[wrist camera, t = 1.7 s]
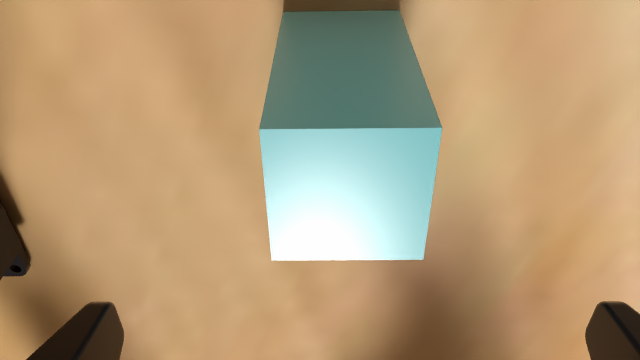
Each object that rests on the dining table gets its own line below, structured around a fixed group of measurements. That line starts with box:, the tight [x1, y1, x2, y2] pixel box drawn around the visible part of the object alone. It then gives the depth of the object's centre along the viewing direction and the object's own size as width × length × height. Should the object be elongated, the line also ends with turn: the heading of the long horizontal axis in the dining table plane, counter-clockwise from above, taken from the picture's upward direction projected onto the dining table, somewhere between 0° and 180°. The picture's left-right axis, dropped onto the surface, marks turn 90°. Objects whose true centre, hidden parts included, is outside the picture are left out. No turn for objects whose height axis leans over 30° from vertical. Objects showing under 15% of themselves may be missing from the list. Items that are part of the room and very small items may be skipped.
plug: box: [259, 10, 442, 260], centre depth 16 cm, size 4×4×8 cm
